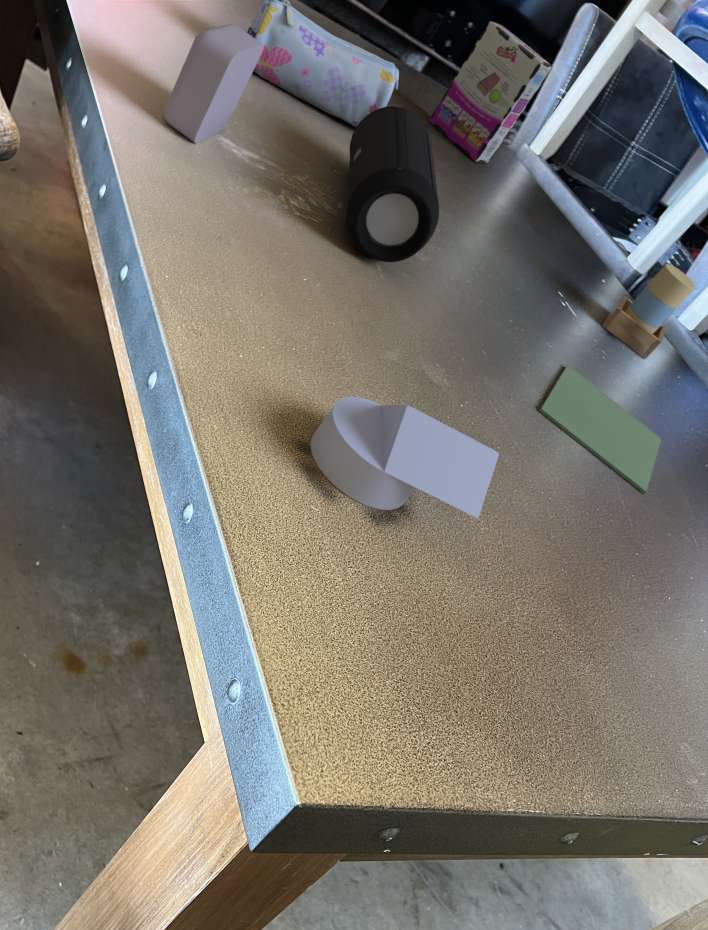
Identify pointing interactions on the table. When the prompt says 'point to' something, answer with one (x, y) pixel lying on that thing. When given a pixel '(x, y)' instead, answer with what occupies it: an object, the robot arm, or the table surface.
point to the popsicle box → (489, 92)
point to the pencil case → (320, 64)
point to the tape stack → (660, 298)
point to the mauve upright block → (212, 81)
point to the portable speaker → (391, 185)
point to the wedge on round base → (400, 456)
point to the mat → (603, 427)
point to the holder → (632, 330)
